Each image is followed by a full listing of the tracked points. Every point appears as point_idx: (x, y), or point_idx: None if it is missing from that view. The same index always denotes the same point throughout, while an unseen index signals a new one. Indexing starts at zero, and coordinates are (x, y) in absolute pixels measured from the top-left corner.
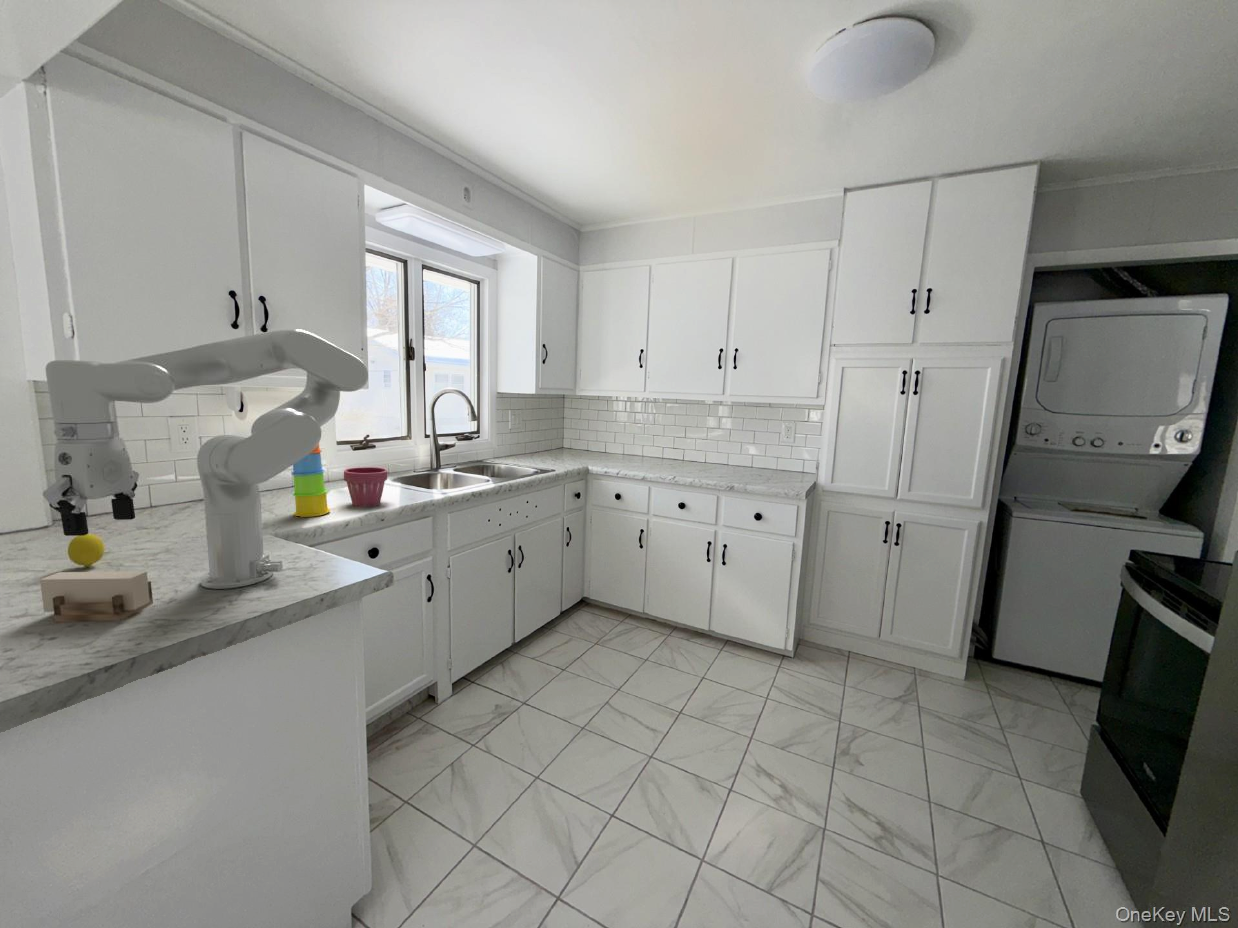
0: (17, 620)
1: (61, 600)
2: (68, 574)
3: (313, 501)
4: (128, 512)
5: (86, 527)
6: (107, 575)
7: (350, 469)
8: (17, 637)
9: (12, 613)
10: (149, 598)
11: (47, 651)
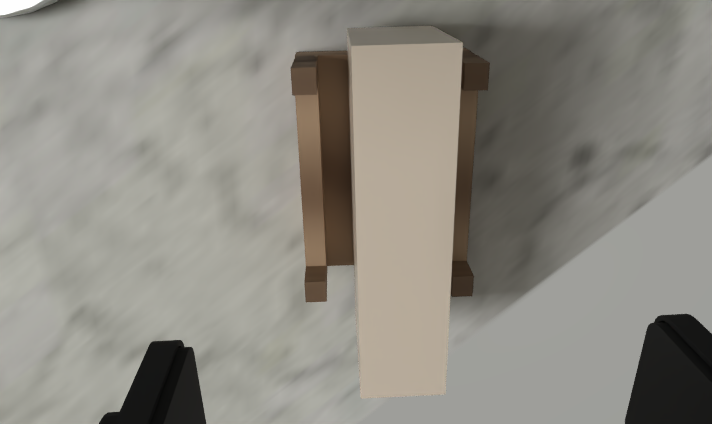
0: None
1: (463, 268)
2: (389, 349)
3: None
4: (179, 405)
5: (706, 350)
6: (408, 192)
7: None
8: (554, 258)
9: (377, 403)
10: (312, 55)
11: (683, 93)
